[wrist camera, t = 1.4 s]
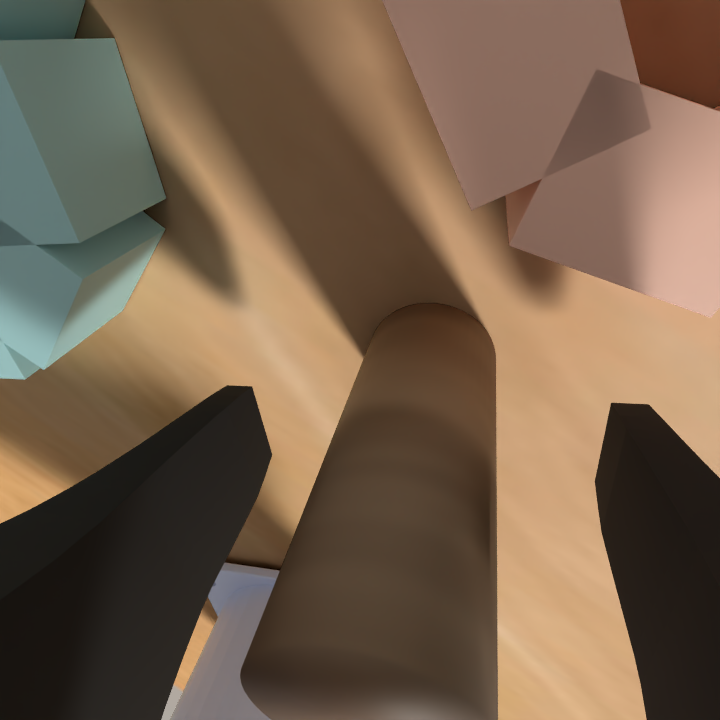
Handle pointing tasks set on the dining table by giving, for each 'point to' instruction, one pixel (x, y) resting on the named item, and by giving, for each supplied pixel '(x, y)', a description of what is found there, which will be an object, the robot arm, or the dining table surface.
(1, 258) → the teal bead
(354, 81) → the dining table surface
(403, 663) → the dowel
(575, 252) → the coral bead
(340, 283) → the dining table surface
